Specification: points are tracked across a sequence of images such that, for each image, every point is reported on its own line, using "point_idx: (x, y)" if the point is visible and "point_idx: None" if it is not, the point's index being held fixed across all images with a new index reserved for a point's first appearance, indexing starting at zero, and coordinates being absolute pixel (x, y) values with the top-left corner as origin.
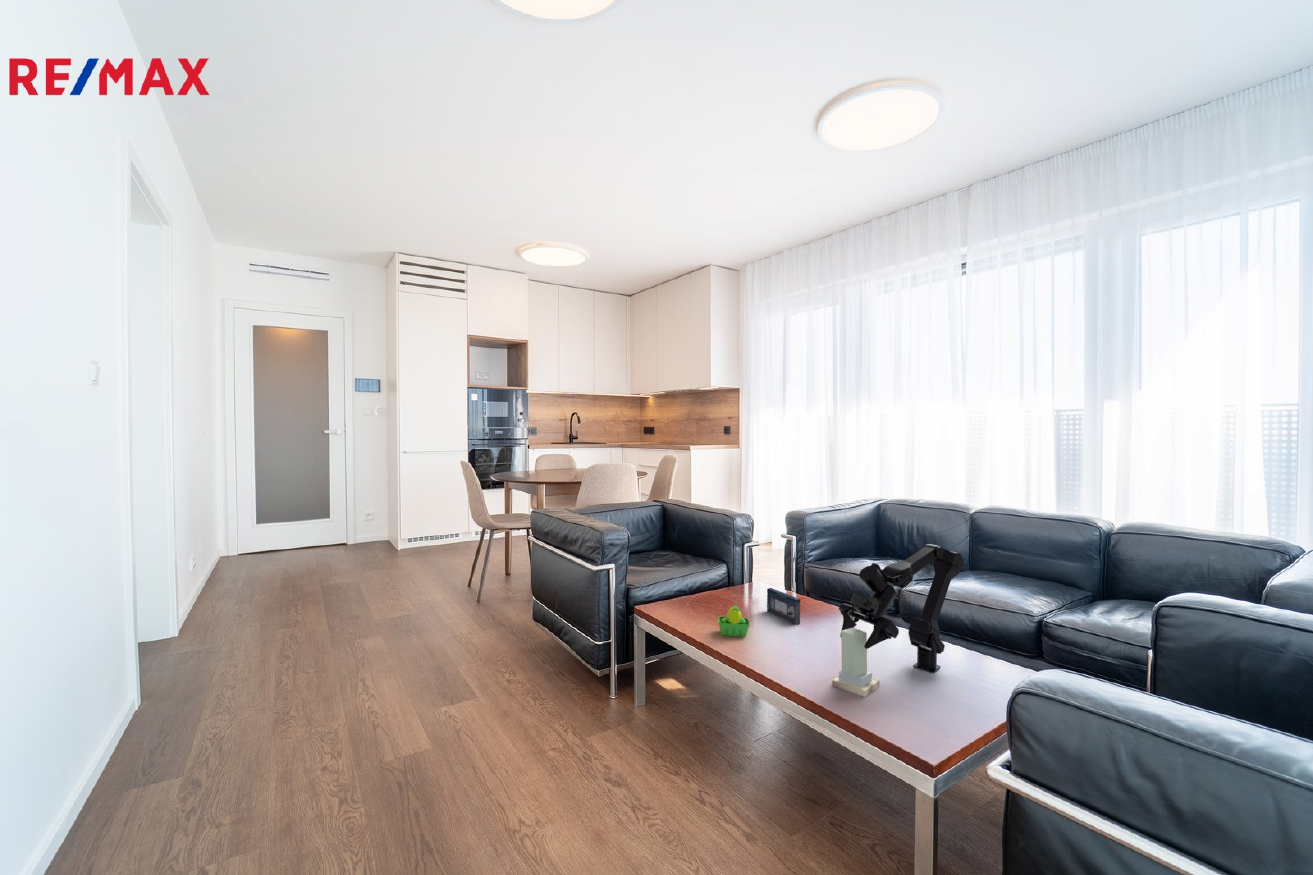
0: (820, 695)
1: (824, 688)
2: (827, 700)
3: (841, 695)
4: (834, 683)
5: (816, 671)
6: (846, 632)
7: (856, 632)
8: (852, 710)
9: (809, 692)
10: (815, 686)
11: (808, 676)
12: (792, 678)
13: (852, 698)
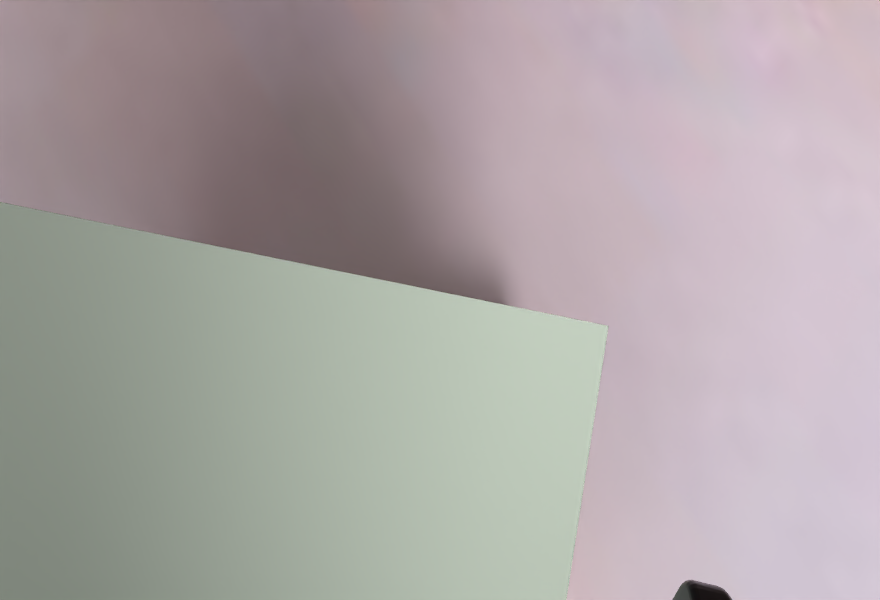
0: (457, 46)
1: (521, 205)
2: (356, 10)
3: (324, 202)
4: None
5: (838, 513)
6: (372, 298)
7: (77, 584)
8: (99, 16)
9: (559, 20)
10: (604, 173)
11: (801, 321)
12: (861, 147)
13: (217, 230)
